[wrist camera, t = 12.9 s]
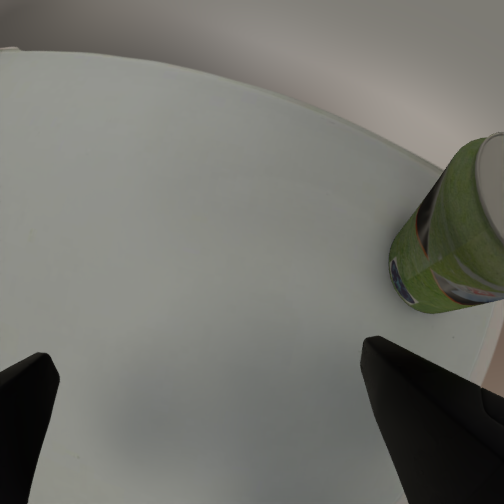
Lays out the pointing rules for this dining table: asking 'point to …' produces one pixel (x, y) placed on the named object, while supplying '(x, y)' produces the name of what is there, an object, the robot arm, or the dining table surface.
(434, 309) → the beverage can
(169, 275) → the dining table surface
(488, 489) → the robot arm
